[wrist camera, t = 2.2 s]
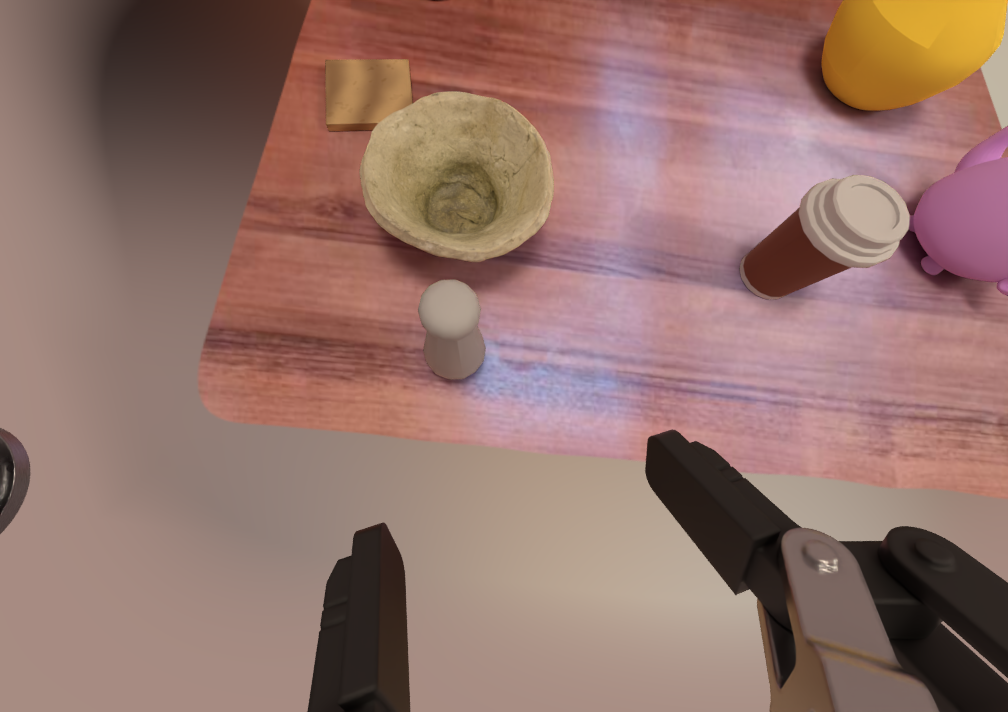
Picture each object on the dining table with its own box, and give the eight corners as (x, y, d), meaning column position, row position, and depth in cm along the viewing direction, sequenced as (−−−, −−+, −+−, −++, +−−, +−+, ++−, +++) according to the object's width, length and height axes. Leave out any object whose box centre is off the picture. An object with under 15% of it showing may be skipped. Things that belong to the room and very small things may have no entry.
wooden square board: (328, 131, 43) (325, 124, 42) (328, 67, 46) (325, 59, 45) (415, 129, 44) (414, 121, 43) (409, 67, 47) (408, 59, 46)
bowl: (524, 235, 47) (551, 282, 35) (376, 224, 43) (351, 270, 32) (543, 104, 39) (586, 106, 27) (365, 78, 36) (326, 67, 24)
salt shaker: (479, 389, 36) (484, 351, 24) (421, 379, 36) (395, 336, 23) (488, 334, 38) (497, 272, 25) (433, 324, 38) (415, 257, 25)
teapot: (864, 173, 49) (992, 80, 37) (955, 174, 50) (1106, 85, 39) (920, 312, 44) (1091, 255, 32) (1020, 308, 45) (1219, 253, 33)
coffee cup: (812, 267, 44) (933, 199, 32) (787, 325, 41) (908, 273, 30) (745, 227, 45) (841, 147, 33) (716, 282, 42) (809, 215, 31)
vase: (780, 36, 55) (935, -175, 37) (887, 42, 57) (1085, -155, 39) (817, 132, 50) (1016, -56, 32) (932, 135, 52) (1182, -40, 34)
